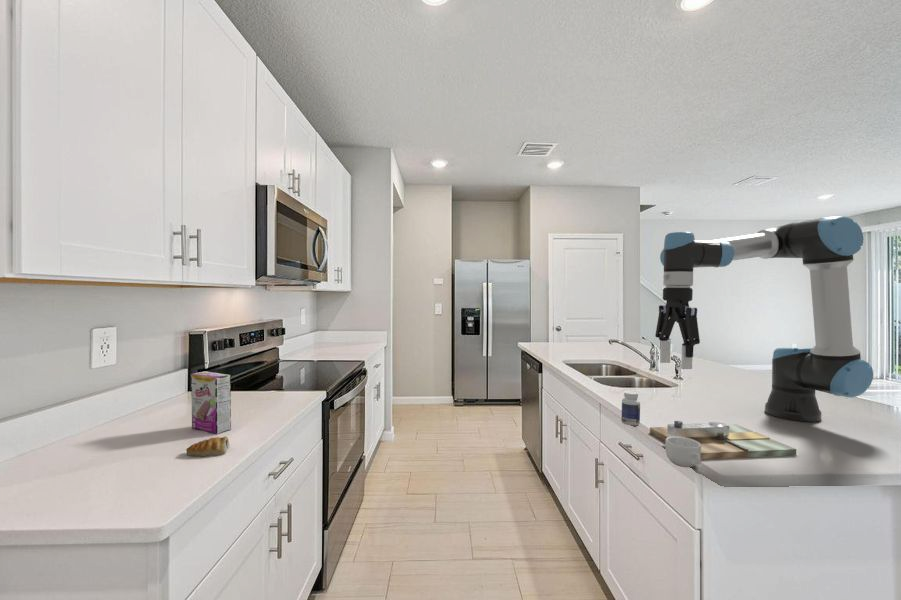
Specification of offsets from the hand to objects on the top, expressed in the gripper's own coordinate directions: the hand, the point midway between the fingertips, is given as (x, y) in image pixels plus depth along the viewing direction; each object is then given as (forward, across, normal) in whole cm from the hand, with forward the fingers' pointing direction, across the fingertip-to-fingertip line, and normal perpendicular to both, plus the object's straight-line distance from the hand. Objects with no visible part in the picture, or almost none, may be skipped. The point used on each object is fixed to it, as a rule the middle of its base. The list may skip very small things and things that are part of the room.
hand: (675, 365), depth 125 cm
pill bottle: (+21, -13, -6) cm, 25 cm away
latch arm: (+18, +6, +3) cm, 19 cm away
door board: (+21, +6, +9) cm, 23 cm away
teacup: (+21, +19, -10) cm, 30 cm away
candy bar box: (+21, -19, -133) cm, 136 cm away
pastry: (+21, 0, -126) cm, 128 cm away
